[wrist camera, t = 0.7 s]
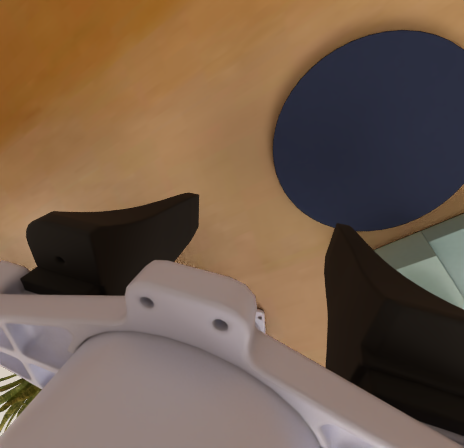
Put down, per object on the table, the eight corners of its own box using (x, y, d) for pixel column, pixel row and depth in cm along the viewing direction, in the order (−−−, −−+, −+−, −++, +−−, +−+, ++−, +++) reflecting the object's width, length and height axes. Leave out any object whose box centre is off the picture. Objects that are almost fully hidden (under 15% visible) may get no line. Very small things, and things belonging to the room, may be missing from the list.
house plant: (38, 282, 42) (-95, 379, 29) (107, 295, 39) (-8, 415, 25) (70, 339, 49) (-25, 439, 36) (131, 355, 45) (51, 475, 32)
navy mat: (451, 232, 21) (454, 236, 20) (275, 224, 25) (274, 227, 24) (529, 10, 14) (536, 8, 13) (271, 49, 18) (270, 48, 18)
